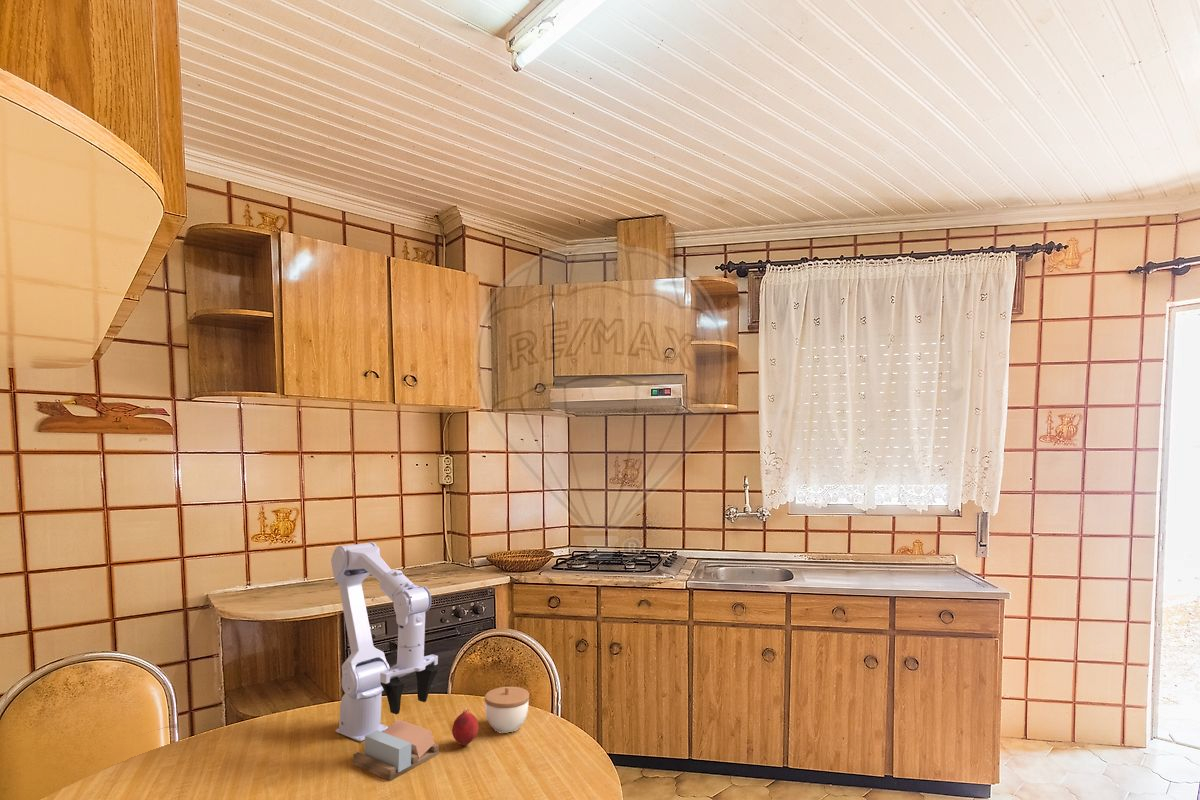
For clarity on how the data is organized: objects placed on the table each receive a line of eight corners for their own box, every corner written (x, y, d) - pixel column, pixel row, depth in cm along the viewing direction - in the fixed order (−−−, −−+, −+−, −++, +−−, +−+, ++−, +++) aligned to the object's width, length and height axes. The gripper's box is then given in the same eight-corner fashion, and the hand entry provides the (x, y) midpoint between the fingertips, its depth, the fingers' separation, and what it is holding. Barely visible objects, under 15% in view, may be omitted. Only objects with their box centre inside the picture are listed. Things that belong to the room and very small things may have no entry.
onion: (471, 753, 132) (472, 715, 133) (447, 750, 133) (448, 712, 134) (481, 741, 138) (482, 704, 139) (458, 738, 139) (459, 702, 140)
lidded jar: (506, 714, 152) (506, 676, 153) (537, 725, 146) (538, 685, 147) (474, 730, 143) (475, 689, 144) (506, 742, 137) (507, 700, 138)
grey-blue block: (363, 757, 128) (364, 735, 128) (376, 751, 131) (377, 730, 131) (398, 772, 122) (399, 749, 123) (410, 765, 125) (411, 743, 125)
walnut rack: (352, 764, 127) (353, 754, 127) (402, 740, 138) (402, 731, 138) (389, 780, 121) (390, 770, 121) (438, 754, 132) (438, 744, 132)
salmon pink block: (382, 732, 133) (397, 718, 137) (385, 745, 134) (401, 731, 138) (415, 745, 127) (431, 730, 131) (419, 758, 128) (434, 743, 132)
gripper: (396, 655, 126) (394, 723, 124) (447, 638, 138) (446, 699, 137) (374, 649, 129) (372, 715, 128) (426, 633, 142) (424, 693, 140)
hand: (408, 706), depth 133 cm, fingers open, 7 cm apart
